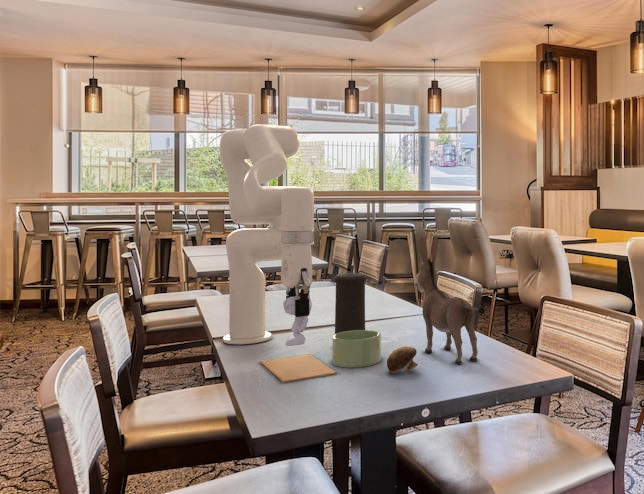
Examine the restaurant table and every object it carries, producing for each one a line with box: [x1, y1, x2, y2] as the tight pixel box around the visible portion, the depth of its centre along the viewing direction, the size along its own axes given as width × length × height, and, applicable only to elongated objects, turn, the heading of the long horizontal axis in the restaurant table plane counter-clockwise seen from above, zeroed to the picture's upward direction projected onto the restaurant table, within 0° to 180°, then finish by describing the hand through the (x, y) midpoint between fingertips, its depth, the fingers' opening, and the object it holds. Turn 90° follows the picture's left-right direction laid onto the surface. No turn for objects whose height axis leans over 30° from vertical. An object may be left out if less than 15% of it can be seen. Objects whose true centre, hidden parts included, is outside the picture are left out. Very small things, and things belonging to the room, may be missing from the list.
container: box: [333, 272, 367, 334], centre depth 169 cm, size 9×9×20 cm
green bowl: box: [332, 329, 382, 368], centre depth 154 cm, size 12×12×6 cm
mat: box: [260, 353, 337, 384], centre depth 148 cm, size 20×12×1 cm, turn 34°
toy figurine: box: [282, 296, 313, 347], centre depth 148 cm, size 7×6×12 cm
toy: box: [414, 235, 486, 365], centre depth 160 cm, size 8×34×30 cm, turn 36°
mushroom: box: [386, 346, 419, 374], centre depth 144 cm, size 8×8×6 cm
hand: (297, 313), depth 148 cm, fingers closed on toy figurine, 6 cm apart
